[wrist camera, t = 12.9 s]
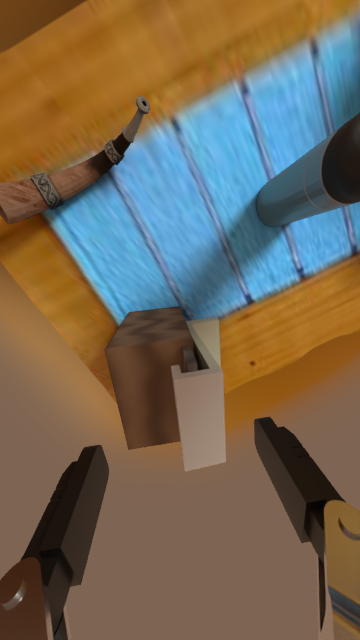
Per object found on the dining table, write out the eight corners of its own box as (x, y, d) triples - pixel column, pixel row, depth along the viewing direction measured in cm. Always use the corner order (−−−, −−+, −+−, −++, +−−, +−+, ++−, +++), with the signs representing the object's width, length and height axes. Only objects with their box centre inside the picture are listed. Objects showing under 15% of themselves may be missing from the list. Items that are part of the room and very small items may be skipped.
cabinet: (179, 306, 45) (199, 355, 21) (186, 371, 51) (208, 469, 27) (128, 312, 44) (91, 369, 21) (140, 378, 50) (122, 484, 26)
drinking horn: (7, 204, 36) (-48, 184, 27) (144, 124, 35) (137, 72, 25) (27, 233, 38) (-18, 223, 28) (159, 158, 36) (158, 121, 27)
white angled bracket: (215, 316, 41) (272, 362, 22) (218, 373, 45) (267, 452, 26) (162, 324, 40) (173, 380, 21) (169, 381, 44) (185, 471, 25)
